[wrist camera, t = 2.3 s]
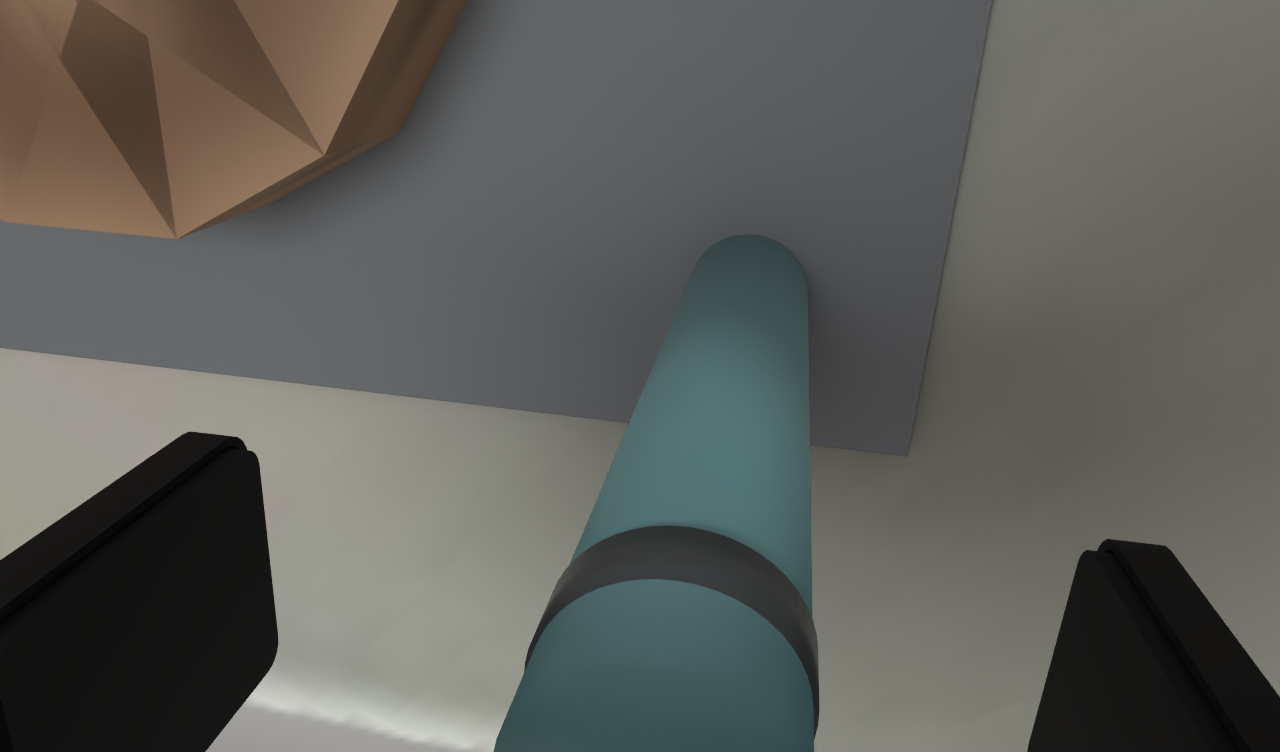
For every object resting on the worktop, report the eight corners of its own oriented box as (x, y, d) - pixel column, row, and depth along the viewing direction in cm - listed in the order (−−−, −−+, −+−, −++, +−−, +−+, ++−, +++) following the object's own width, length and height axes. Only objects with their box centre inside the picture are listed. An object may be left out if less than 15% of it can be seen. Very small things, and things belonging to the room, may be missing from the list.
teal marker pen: (817, 237, 19) (843, 688, 7) (802, 356, 20) (799, 944, 8) (691, 227, 20) (483, 635, 7) (682, 343, 21) (487, 884, 8)
